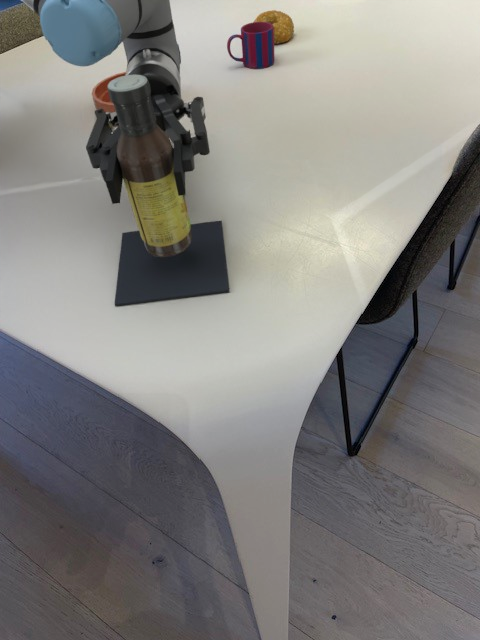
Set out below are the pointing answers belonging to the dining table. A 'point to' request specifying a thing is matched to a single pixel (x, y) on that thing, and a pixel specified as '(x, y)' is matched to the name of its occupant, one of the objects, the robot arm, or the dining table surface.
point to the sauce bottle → (149, 169)
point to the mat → (172, 268)
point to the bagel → (278, 24)
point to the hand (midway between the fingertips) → (146, 188)
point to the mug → (255, 45)
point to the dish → (104, 94)
